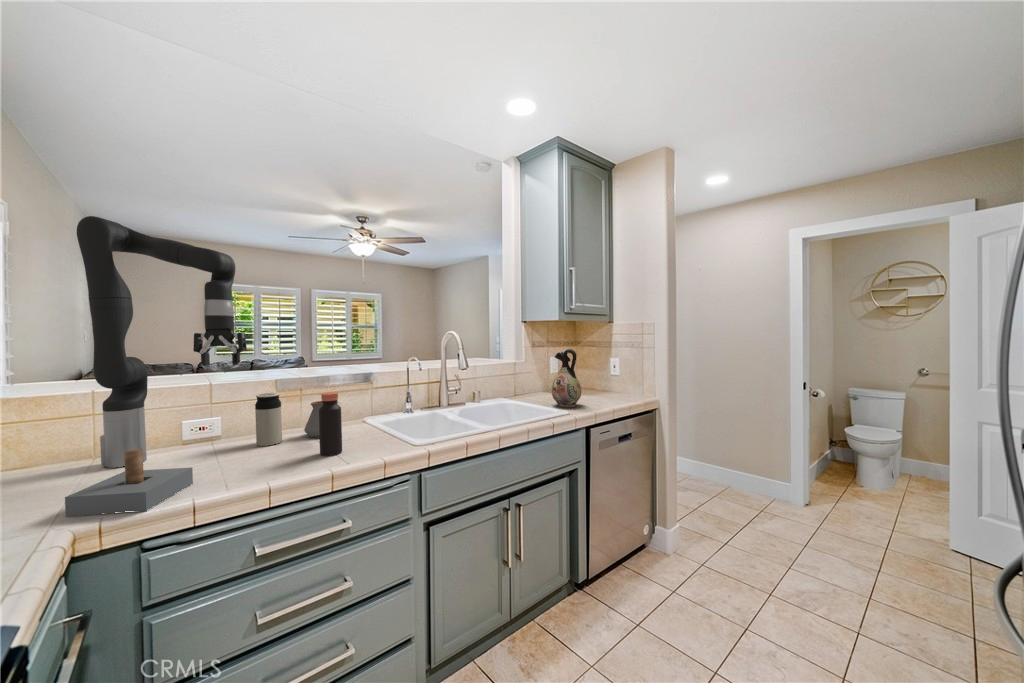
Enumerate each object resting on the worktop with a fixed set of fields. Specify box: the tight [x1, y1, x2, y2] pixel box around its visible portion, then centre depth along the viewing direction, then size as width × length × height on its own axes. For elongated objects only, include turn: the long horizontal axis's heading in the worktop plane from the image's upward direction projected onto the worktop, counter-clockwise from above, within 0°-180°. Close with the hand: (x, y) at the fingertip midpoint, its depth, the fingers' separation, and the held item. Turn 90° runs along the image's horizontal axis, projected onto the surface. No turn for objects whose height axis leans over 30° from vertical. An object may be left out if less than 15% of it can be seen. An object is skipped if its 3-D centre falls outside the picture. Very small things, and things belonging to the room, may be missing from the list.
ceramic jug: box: [551, 348, 582, 408], centre depth 203 cm, size 17×15×30 cm
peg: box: [124, 449, 144, 485], centre depth 96 cm, size 3×3×12 cm
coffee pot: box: [303, 400, 340, 438], centre depth 149 cm, size 21×12×15 cm, turn 48°
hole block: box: [64, 466, 194, 518], centre depth 96 cm, size 16×16×4 cm
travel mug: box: [254, 392, 283, 447], centre depth 142 cm, size 8×8×18 cm
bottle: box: [318, 391, 343, 457], centre depth 130 cm, size 7×7×20 cm
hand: (221, 365), depth 125 cm, fingers open, 8 cm apart
